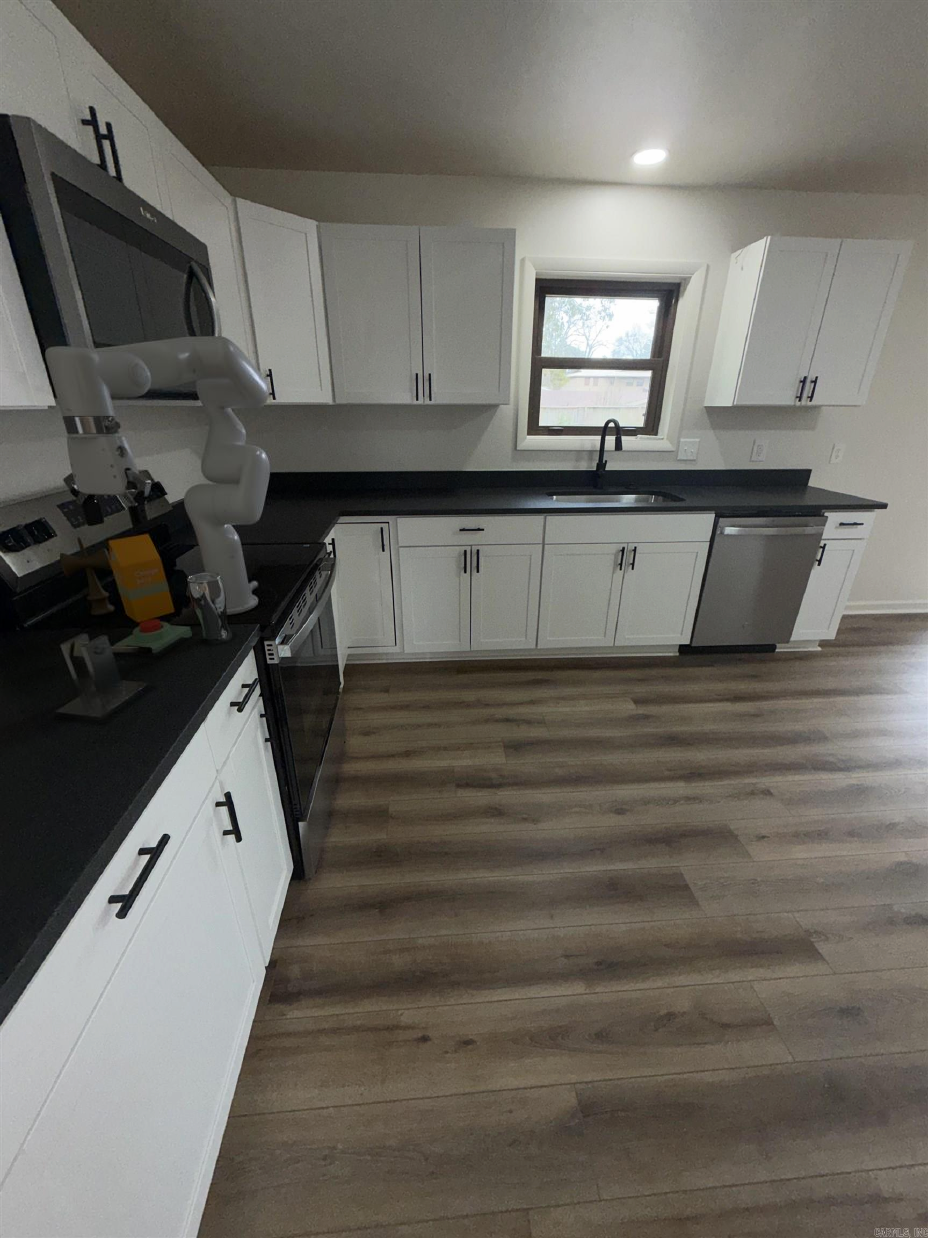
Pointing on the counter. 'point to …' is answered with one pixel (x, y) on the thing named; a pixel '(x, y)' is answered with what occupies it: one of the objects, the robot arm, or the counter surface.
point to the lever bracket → (95, 678)
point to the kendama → (90, 576)
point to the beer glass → (210, 605)
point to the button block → (156, 637)
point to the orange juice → (140, 577)
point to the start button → (150, 625)
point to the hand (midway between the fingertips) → (118, 525)
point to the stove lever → (115, 649)
